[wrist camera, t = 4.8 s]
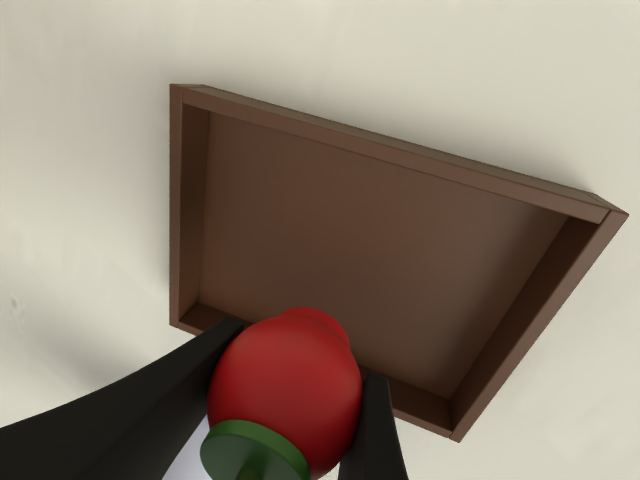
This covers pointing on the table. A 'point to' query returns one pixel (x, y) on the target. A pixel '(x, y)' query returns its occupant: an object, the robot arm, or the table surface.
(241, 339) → the tomato
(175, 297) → the tray
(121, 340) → the table surface
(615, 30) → the table surface
